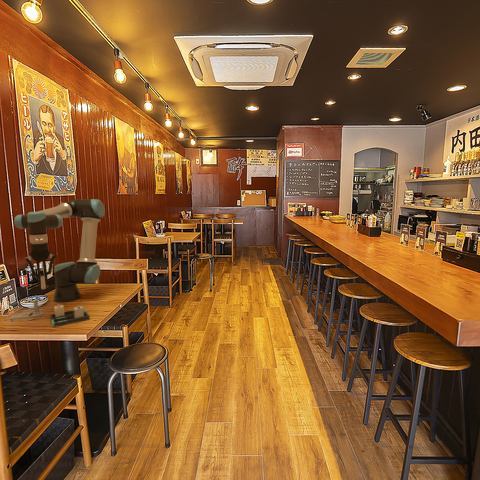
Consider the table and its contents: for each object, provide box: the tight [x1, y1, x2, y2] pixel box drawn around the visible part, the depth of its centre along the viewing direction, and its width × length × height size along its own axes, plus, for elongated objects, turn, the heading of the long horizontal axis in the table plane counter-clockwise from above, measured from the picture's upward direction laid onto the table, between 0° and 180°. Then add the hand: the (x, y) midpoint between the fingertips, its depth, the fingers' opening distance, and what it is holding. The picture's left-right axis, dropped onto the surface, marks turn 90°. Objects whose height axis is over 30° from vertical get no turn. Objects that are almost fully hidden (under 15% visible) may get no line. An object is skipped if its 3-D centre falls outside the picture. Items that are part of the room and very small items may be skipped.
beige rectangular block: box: [53, 303, 65, 317], centre depth 161 cm, size 4×4×7 cm
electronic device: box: [10, 300, 44, 323], centre depth 163 cm, size 5×10×15 cm
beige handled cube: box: [73, 305, 85, 318], centre depth 160 cm, size 4×4×7 cm
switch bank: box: [49, 307, 90, 328], centre depth 161 cm, size 17×16×3 cm
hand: (43, 288), depth 156 cm, fingers closed
